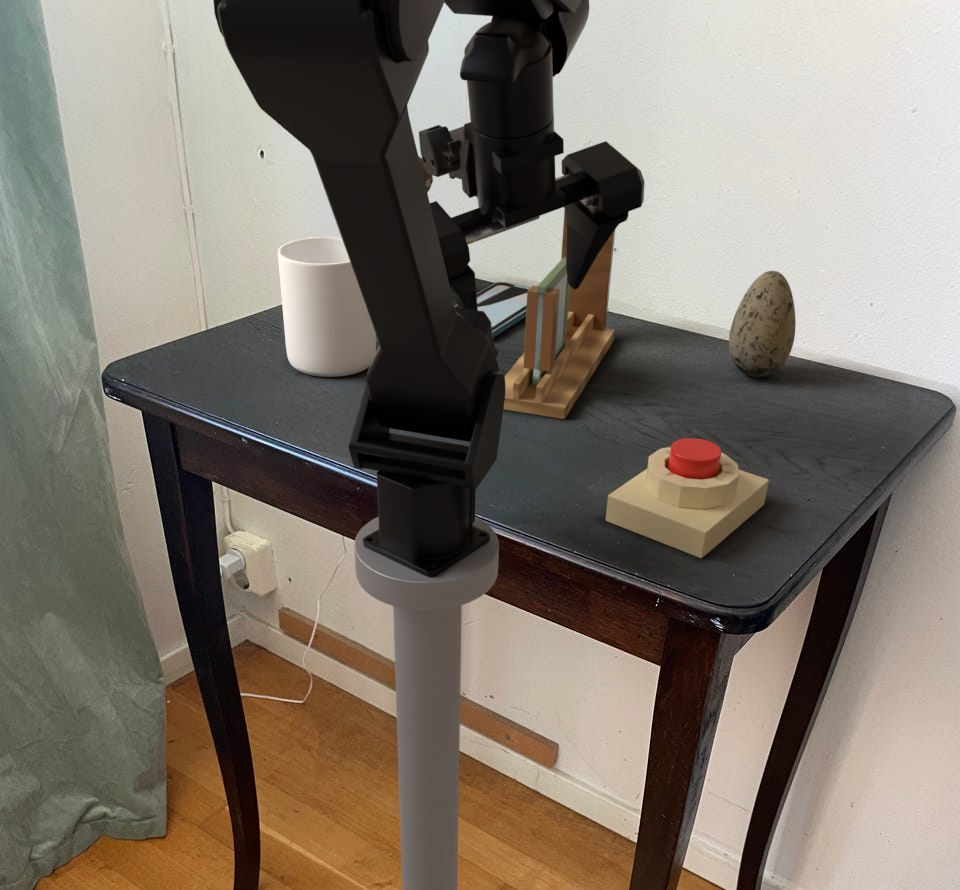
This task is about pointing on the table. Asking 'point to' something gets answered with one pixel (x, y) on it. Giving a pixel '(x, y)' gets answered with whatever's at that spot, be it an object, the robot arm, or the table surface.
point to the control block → (686, 504)
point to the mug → (324, 309)
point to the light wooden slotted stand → (569, 346)
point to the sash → (546, 322)
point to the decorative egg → (763, 326)
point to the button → (694, 458)
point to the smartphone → (503, 305)
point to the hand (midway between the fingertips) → (523, 305)
